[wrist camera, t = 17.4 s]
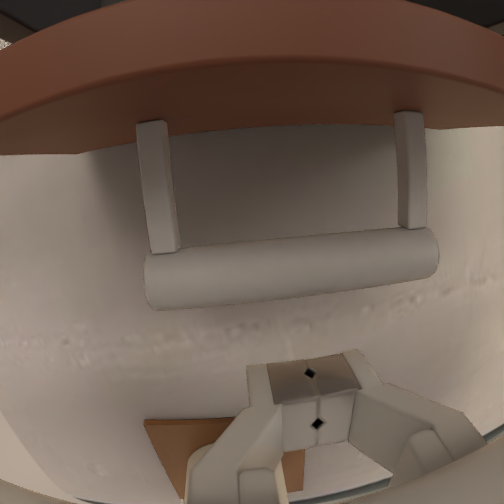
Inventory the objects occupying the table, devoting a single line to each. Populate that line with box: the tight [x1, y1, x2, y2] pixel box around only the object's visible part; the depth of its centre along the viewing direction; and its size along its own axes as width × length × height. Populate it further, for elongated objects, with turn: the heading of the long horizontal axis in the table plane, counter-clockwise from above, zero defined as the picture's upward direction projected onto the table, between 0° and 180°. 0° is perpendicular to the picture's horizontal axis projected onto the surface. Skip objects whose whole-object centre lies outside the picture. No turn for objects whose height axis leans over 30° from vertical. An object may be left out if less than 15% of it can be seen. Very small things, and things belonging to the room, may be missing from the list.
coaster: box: [144, 417, 305, 499], centre depth 15 cm, size 8×8×1 cm
